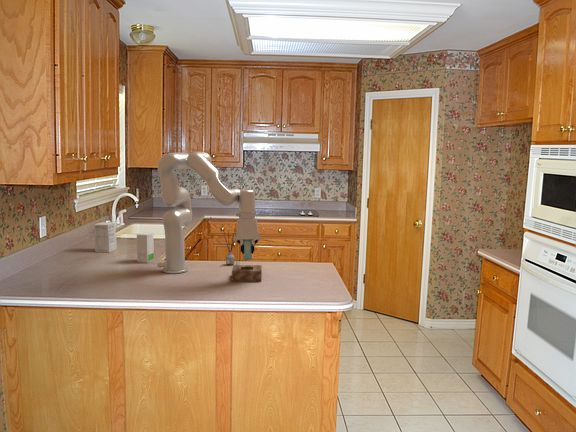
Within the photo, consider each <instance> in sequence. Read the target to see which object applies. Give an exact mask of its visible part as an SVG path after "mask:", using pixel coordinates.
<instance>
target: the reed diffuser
mask: <svg viewBox="0 0 576 432" xmlns="http://www.w3.org/2000/svg"><path fill="white" fill-rule="evenodd" d="M235 229H236V230H235ZM222 231H223V233H224V239H225V243H226V245H227V250H228V253H227V255H225V264H226V265H234V264H235V265H241V263H240V261H235V255H234V254H233V250H232V249H233V245H234V241H235V240H233V238H232V239H231V243H232V244H230V246H229V243H228V241H227V237H228V240H230V234H229V231H227V234H228V236H227V237H226V233H225V230H224V228H222ZM236 233H237V228H234V229H233V234H232V237H234V236H235V234H236Z"/></svg>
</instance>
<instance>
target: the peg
mask: <svg viewBox="0 0 576 432" xmlns="http://www.w3.org/2000/svg"><path fill="white" fill-rule="evenodd" d="M251 246H252V240H243V247H244V254H242V255H243V261H252V260H253V254H252V251H251Z"/></svg>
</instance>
